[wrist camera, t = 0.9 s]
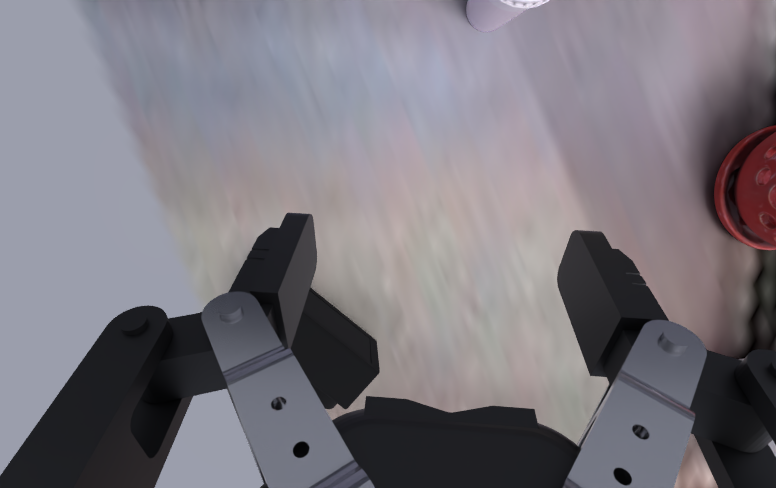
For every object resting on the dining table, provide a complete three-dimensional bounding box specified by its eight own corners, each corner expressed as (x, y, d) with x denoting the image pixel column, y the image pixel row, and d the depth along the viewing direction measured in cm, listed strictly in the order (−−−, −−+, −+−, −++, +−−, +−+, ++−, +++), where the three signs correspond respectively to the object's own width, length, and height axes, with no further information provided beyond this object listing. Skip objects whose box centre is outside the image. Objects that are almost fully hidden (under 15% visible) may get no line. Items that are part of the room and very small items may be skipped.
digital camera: (256, 315, 40) (234, 344, 33) (293, 273, 39) (279, 293, 32) (340, 381, 41) (336, 421, 34) (376, 340, 41) (379, 373, 34)
